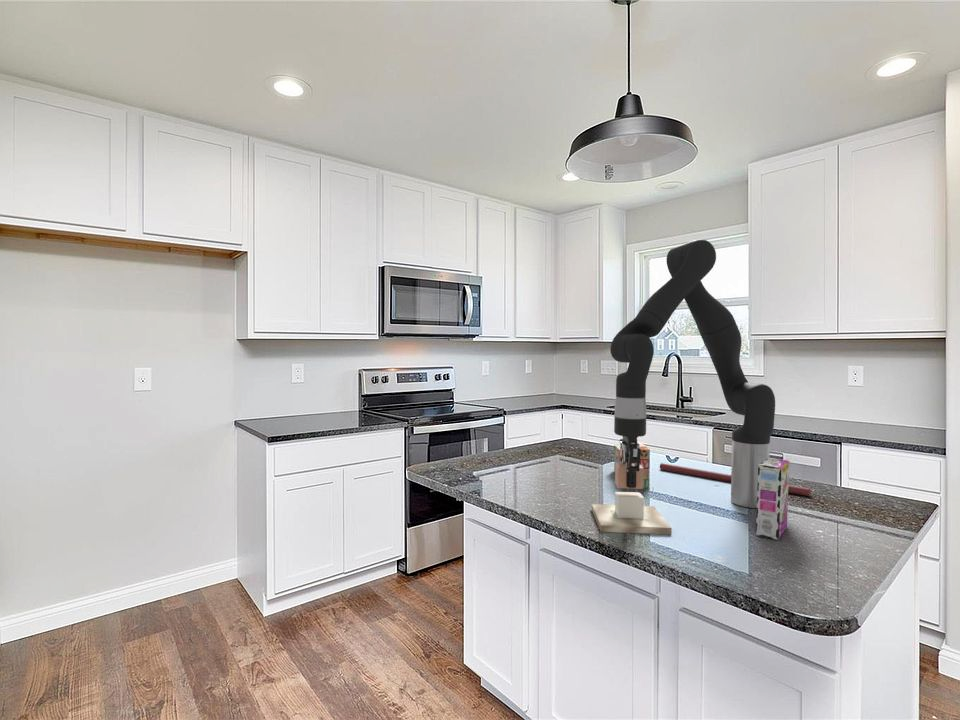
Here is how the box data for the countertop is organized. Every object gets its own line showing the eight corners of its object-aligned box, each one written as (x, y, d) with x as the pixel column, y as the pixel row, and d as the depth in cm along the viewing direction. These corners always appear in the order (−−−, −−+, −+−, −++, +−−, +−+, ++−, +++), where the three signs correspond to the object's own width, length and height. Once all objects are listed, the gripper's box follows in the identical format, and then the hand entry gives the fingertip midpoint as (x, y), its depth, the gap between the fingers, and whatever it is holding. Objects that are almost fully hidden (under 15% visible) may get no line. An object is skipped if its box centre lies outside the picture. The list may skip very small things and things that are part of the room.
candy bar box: (780, 541, 114) (781, 468, 114) (755, 536, 117) (756, 464, 117) (788, 527, 123) (790, 459, 122) (765, 523, 126) (766, 456, 126)
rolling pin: (811, 496, 150) (811, 486, 150) (808, 499, 147) (809, 488, 147) (662, 469, 181) (662, 461, 181) (658, 471, 179) (658, 462, 179)
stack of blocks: (613, 471, 178) (614, 435, 178) (631, 471, 178) (632, 436, 177) (628, 488, 157) (629, 448, 156) (649, 488, 156) (650, 448, 156)
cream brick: (639, 512, 129) (639, 492, 129) (643, 518, 124) (643, 497, 124) (614, 511, 129) (615, 491, 129) (618, 517, 125) (618, 497, 125)
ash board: (654, 511, 134) (654, 505, 134) (671, 534, 118) (671, 527, 118) (591, 509, 136) (592, 503, 136) (600, 531, 120) (600, 524, 120)
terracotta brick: (639, 483, 129) (639, 464, 128) (643, 488, 124) (643, 468, 124) (615, 483, 129) (615, 463, 129) (617, 487, 125) (618, 467, 125)
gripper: (653, 420, 119) (651, 493, 119) (639, 412, 133) (638, 477, 134) (619, 419, 119) (618, 492, 120) (610, 411, 134) (608, 476, 134)
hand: (629, 484), depth 127 cm, fingers closed on terracotta brick, 4 cm apart
